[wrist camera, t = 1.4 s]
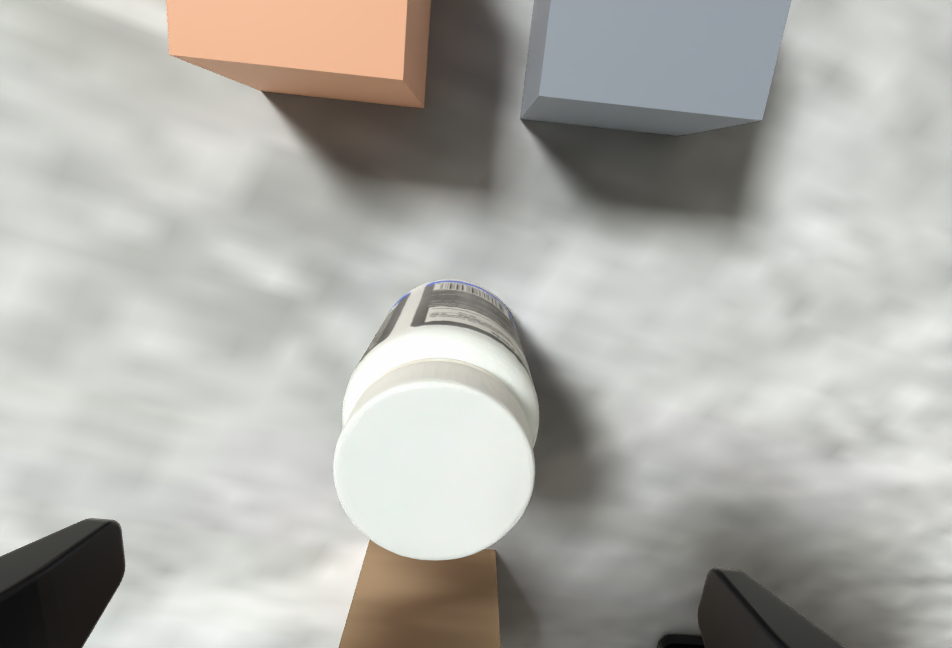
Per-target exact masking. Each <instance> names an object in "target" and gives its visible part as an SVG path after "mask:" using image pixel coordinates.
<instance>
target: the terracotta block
mask: <svg viewBox="0 0 952 648" xmlns="http://www.w3.org/2000/svg"><path fill="white" fill-rule="evenodd" d="M166 6H167V22H168V39H169V55H171V56H174V57H176V58H179V59H181V60H184V61H187V62H189V63H192V64H194V65H197V66H199V67H202V68H204V69H207V70H209V71H212V72H214V73H217V74H219V75H222V76H224V77H227V78H229V79H232V80H235V81H237V82H240V83H242V84H245V85H247V86H250V87H252V88H255V89H257V90H260V91H266V92H275V93H284V94H294V95H303V96H312V97H322V98H331V99H340V100H350V101H359V102H369V103H378V104H387V105H397V106H406V107H415V108H424V103H425V87H426V72H427V57H428V42H429V27H430V11H431V0H166Z"/></svg>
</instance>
